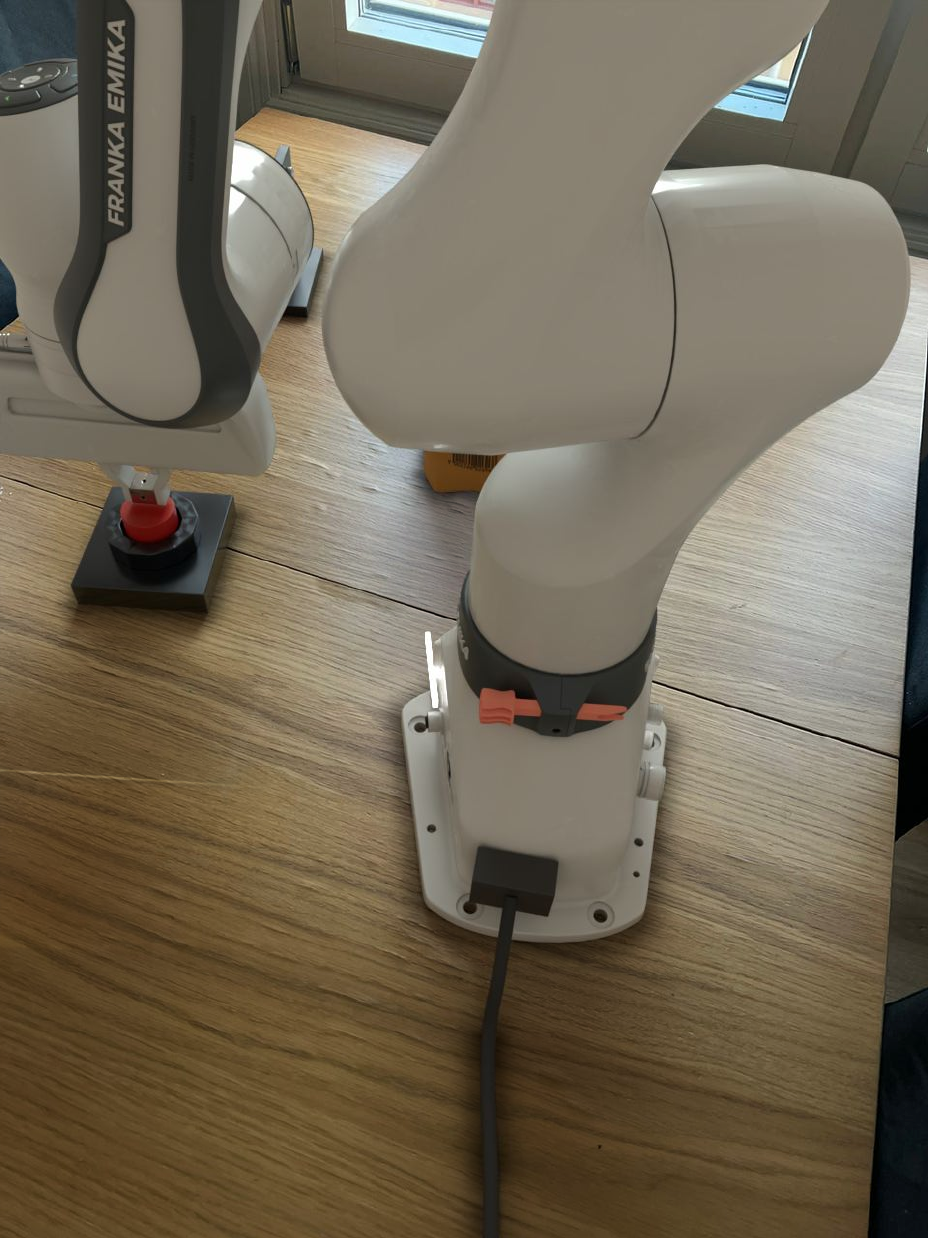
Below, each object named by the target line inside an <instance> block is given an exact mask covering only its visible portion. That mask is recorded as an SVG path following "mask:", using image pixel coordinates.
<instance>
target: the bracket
mask: <svg viewBox="0 0 928 1238" xmlns="http://www.w3.org/2000/svg"><path fill="white" fill-rule="evenodd" d="M274 158H275V159H276V160H277V161H278V162H279V163H280V164H281V165H282V166H283V167H284V168H285V169H286V170H287V171H288V172H289V173H290V174H291V176H292V177H293V178H294V179H295V172H294V171H295V170H294V167H293V166H292V160H291V147H290V145H286V144H285V145H284V144H280V145H279V146H278V149H277V151H276V153H275V156H274ZM324 257H325V256H324V248H323V247H319V246H313V249H312V252H311V255H310V258H309V260H308V262H307V263H306V266H305V268H304V270H303V273H302V275H301V277H300V279H299V281H298V283H297V285H296V287H295V289H294V291H293V293H292V295H291V297H290V300H289V303H288V305H287V307H286V309H285V311H284V313H283V315H282V316H288V317H301V318H308V317H309V313H310V309H311V305H312V302H313V298H314V294H315V291H316V286H317V283H318V280H319V276H320V272H321V268H322V265H323V261H324Z"/></svg>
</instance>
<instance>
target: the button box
mask: <svg viewBox="0 0 928 1238" xmlns="http://www.w3.org/2000/svg"><path fill="white" fill-rule="evenodd" d="M169 497H170V498H171V499H172V500H173V502H174V505H175V509H176V513H177V517H178V527H177V529H176V531H175V532H174V533H173V534H172V535H171V536H170V537H168V538H167V539H164V540H161V541H158V542H154V543H141V542H137V541H135V540H133V539H131V538H130V537H129V536H128V535H127V533H126V531H125V528H124V525H123V521H122V518H121V515H120V510H121V507H122V505H123V503H124V502H125V501H126V500H125V497H124V493H123V490H122V487H119V486H116V485H115V486H114V485H112V486H111V488H110V490H109V492H108V495H107V498H106V499H105V502H104V504H103V507H102V509H101V511H100V514H99V517H98V519H97V522H96V523H95V526H94V529H93V531H92V533H91V535H90V537H89V541H88V543H87V545H86V548H85V550H84V553H83V555H82V557H81V559H80V562H79V564H78V567H77V569H76V571H75V574H74V576H73V578H72V581H71V582H70V583H71V584H70V588H71V590H72V593H73V595H74V598H75V600H76V603H77V604H78V605H87V606H88V605H89V606H101V607H103V606H104V607H117V608H131V609H142V610H143V609H145V610H158V611H159V610H160V611H172V612H173V611H174V612H185V613H187V612H188V613H201V614H202V613H203V614H208V613H209V611H210V608H211V604H212V601H213V597H214V594H215V590H216V587H217V584H218V580H219V577H220V573H221V571H222V566H223V562H224V559H225V556H226V552H227V549H228V545H229V542H230V539H231V535H232V531H233V527H234V524H235V520H236V516H237V509H236V503H235V497H234V495H233V494H228V493H227V494H226V493H211V492H198V491H186V490H185V491H183V490H172V489H170V496H169Z"/></svg>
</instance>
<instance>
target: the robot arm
mask: <svg viewBox="0 0 928 1238" xmlns="http://www.w3.org/2000/svg"><path fill="white" fill-rule="evenodd" d="M830 1H831V0H495V1H494V6H493V10H492V13H491V17H490V20H489V23H488V28H487V30H486V34H485V37H484V39H483V41H482V44H481V47H480V51H479V53H478V56H477V59H476V60H475V63H474V65H473V68H472V70H471V73H470V74H469V76H468V78H467V81H466V83H465V85H464V87H463V90H462V92H461V94H460V96H459V97H458V99H457V100H456V102H455V104H454V106H453V107H452V109H451V112H450V113H449V115H448V117H447V119H446V120H445V121H444V123H443V124H442V127H440V130H439V131H438V132H437V134H436V136H435V137H434V138H433V140H432V142H431V143H430V145H428V147H427V148H426V150H424V152H423V153H422V155H421V156H420V157H419V158H418V160H417V161H416V162H415V163H414V164H413V166H412V167H411V168H410V169H409V170H408V171H407V173H405V175H404V176H403V177H401V179H400V180H399V181H398V182H397V183H396V184H395V185H394V186H393V187H392V188H390V189H389V190H388V191H387V192H386V193H384V194H383V195H382V196H381V197H380V198H379V199H378V200H377V201H376V202H374V203H373V204H372V205H370V207H369V206H368V208H367V209H366V210H364V211H362V213H361V214H360V215H359V216H358V217H357V219H356V220H355V221H354V222H353V223H352V225H351V226H350V228H349V229H348V230H347V232H346V233H345V235H344V237H343V238H342V239H341V242H340V243H339V246H338V248H337V249H336V251H335V254H334V255H333V258H332V261H331V264H330V266H329V270H328V272H327V275H326V279H325V283H324V288H323V294H322V303H321V336H322V342H323V343H322V344H323V349H324V354H325V357H326V362H327V365H328V369H329V371H330V373H331V376H332V378H333V381H334V383H335V386H336V388H337V389H338V392H339V393H340V395H341V397H342V399H343V400H344V402H345V403H346V405H347V407H348V408H349V409H350V411H351V412H352V413H353V415H354V416H355V417H356V419H357V420H358V421H359V422H360V423H361V424H362V425H363V426H364V427H365V429H366V430H368V431H369V432H370V433H371V434H372V435H373V436H374V437H376V438H377V439H378V440H380V441H381V442H382V443H384V444H385V445H386V446H388V447H389V448H393V449H404V450H405V449H407V450H413V451H423V452H424V451H433V452H444V453H459V454H475V455H500V454H506V455H505V456H504V457H503V458H502V459H501V460H500V461H499V462H498V464H497V465H496V466H495V467H494V469H493V470H492V472H491V473H490V475H489V477H488V478H487V480H486V482H485V484H484V486H483V488H482V490H481V492H480V493H479V494H478V497H477V501H476V504H475V508H474V509H475V510H474V519H473V520H474V522H473V533H472V542H471V553H470V554H471V555H470V565H469V569H468V570H467V572H466V575H465V577H464V579H463V583H462V586H461V590H460V593H459V596H458V601H457V608H456V623H455V625H453V627H451V628H450V629H449V630H448V631H446V632H445V633H443V634H442V635H441V636H440V637H439V639H437V640H435V641H434V643H433V645H432V637H431V632H430V631H425V633H424V634H425V636H424V637H425V638H424V640H425V641H424V642H425V647H426V648H425V649H426V657H427V659H426V660H427V666H428V675H429V684H430V685H429V686H430V687H429V690H427V691H426V692H423V693H421V694H419V695H417V696H415V697H413V698H412V699H410V700H408V701H407V702H406V703H405V705H404V706H403V707H402V709H401V711H402V712H401V714H400V715H401V716H400V729H401V736H402V742H403V751H404V761H405V767H406V777H407V783H408V792H409V799H410V807H411V808H410V809H411V814H412V823H413V831H414V838H415V846H416V856H417V862H418V870H419V871H418V872H419V879H420V886H421V893H422V897H423V901H424V904H425V905H426V906H427V907H428V908H429V909H430V910H431V911H432V912H434V913H435V914H436V915H437V916H439V917H441V918H442V919H444V920H445V921H448V922H450V923H451V924H453V925H455V926H457V927H461V928H462V929H465V930H468V931H470V932H474V933H477V934H481V935H484V936H488V937H492V938H496V939H497V941H496V946H495V952H494V959H493V965H492V971H491V978H490V982H489V988H488V992H487V997H486V1003H485V1006H484V1007H485V1008H484V1013H483V1019H482V1030H481V1042H480V1043H481V1045H480V1069H479V1070H480V1075H479V1076H480V1079H479V1080H480V1081H479V1082H480V1083H479V1084H480V1085H479V1086H480V1115H481V1116H480V1117H481V1120H480V1121H481V1140H482V1141H481V1142H482V1169H483V1170H482V1171H483V1172H482V1178H483V1179H482V1182H483V1183H482V1184H483V1186H482V1188H483V1190H482V1192H483V1193H482V1196H483V1197H482V1200H483V1201H482V1238H500V1189H499V1188H500V1183H499V1182H500V1179H499V1149H498V1148H499V1147H498V1129H497V1127H498V1125H497V1105H496V1071H495V1070H496V1042H497V1028H498V1021H499V1014H500V1007H501V1004H502V999H503V995H504V990H505V985H506V978H507V972H508V966H509V959H510V955H511V954H510V953H511V946H512V941H519V942H530V943H550V944H551V943H553V944H561V943H580V942H587V941H595V940H599V939H603V938H606V937H611V936H613V935H616V934H618V933H621V932H623V931H625V930H627V929H629V928H630V927H632V926H634V925H636V924H637V923H638V922H640V921H641V920H642V918H643V916H644V914H645V908H646V905H647V900H648V892H649V891H648V890H649V883H650V875H651V866H652V860H653V851H654V850H653V849H654V843H655V835H656V834H655V833H656V826H657V825H656V824H657V817H658V809H659V802H660V801H661V799H662V796H663V793H664V788H665V783H666V778H667V777H666V776H667V768H666V766H664V759H665V753H666V752H665V751H666V743H667V734H668V729H667V726H666V724H665V722H664V721H663V717H664V713H665V712H664V710H665V708H664V705H662V704H659V703H654V702H651V692H652V685H653V680H654V677H655V674H656V671H657V669H658V668H659V664H660V661H661V658H660V656H658V654H656V652H655V651H654V650H655V644H656V641H657V640H656V639H657V638H656V637H657V624H658V605H659V602H660V599H661V596H662V594H663V591H664V588H665V586H666V583H667V580H668V578H669V575H670V574H671V571H672V568H673V567H674V564H675V561H676V559H677V557H678V555H679V553H680V550H681V549H682V546H683V545H684V544H685V542H686V541H687V539H688V537H689V536H690V534H691V533H692V532H693V530H694V529H695V528H696V527H697V525H698V524H699V522H700V521H701V520H702V519H703V518H704V517H705V515H706V514H707V513H708V512H709V510H710V509H711V508H712V507H713V506H714V505H715V503H717V501H718V500H719V499H720V498H721V497H722V496H723V495H724V494H725V493H726V492H727V490H728V489H729V488H730V487H731V486H732V485H733V484H735V482H737V481H738V479H739V478H740V477H742V475H743V474H744V473H745V472H746V471H748V469H750V468H751V466H752V465H753V464H755V463H756V462H757V461H758V460H759V459H760V458H761V457H762V456H763V455H765V454H766V452H768V451H769V450H770V449H771V448H772V447H773V446H774V445H775V444H776V443H778V442H779V441H780V440H782V439H783V438H785V437H786V436H787V435H789V434H790V433H791V432H792V431H793V430H795V429H796V428H797V427H799V426H800V425H802V424H803V423H805V422H806V421H807V420H809V419H810V418H812V417H813V416H815V415H816V414H818V413H820V412H821V411H822V410H825V409H826V408H829V407H830V406H832V405H833V404H835V403H837V402H838V401H840V400H842V399H843V398H845V397H848V396H849V395H851V394H853V393H855V392H856V391H859V390H860V389H861V388H863V387H864V386H866V384H868V383H869V382H870V381H871V380H873V378H875V376H876V375H877V374H878V373H879V371H880V370H881V369H882V367H883V366H884V365H885V364H886V361H887V359H889V356H890V355H891V353H892V351H893V349H894V347H895V345H896V343H897V341H898V339H899V336H900V334H901V331H902V328H903V325H904V323H905V320H906V315H907V312H908V307H909V301H910V295H911V284H912V283H911V281H912V278H911V277H912V276H911V274H912V273H911V272H912V271H911V261H910V255H909V250H908V246H907V241H906V238H905V236H904V232H903V229H902V227H901V225H900V223H899V222H900V221H899V220H898V218H897V216H896V214H895V213H894V211H893V209H892V207H891V205H890V204H889V203H888V202H887V200H886V198H884V196H883V195H882V194H881V193H880V192H879V191H877V190H876V189H874V187H872V186H870V185H869V184H867V183H864V182H862V181H859V180H854V179H850V178H846V177H841V176H835V175H831V174H826V173H821V172H817V171H809V170H803V169H797V168H790V167H784V166H779V165H773V164H750V165H747V164H746V165H731V166H716V167H703V168H702V167H701V168H685V169H672V170H670V169H669V170H665V168H666V167H667V165H668V163H669V162H670V160H671V159H672V157H673V156H674V154H675V153H676V151H677V150H678V149H679V147H680V146H681V145H682V143H683V142H684V141H685V139H686V138H687V137H688V135H689V134H690V133H691V132H692V130H694V128H695V127H696V126H697V125H698V124H699V123H700V122H701V120H702V119H704V117H705V116H707V114H708V113H709V112H710V111H711V110H712V109H713V108H715V107H716V106H717V105H718V104H719V103H721V102H722V101H723V100H724V99H725V98H727V97H728V96H730V95H731V94H732V93H733V92H735V91H736V90H738V89H740V88H741V87H743V86H744V85H746V84H747V83H749V82H751V81H752V80H753V79H755V78H757V77H758V76H760V75H762V74H763V73H764V72H766V71H767V70H769V69H771V68H772V67H774V66H775V65H777V64H778V63H779V62H780V61H782V60H783V59H784V58H786V57H787V56H788V55H789V54H790V53H792V51H794V50H795V49H796V48H797V47H798V46H799V45H800V44H801V42H803V41H804V40H805V38H806V37H807V36H808V35H809V34H810V32H811V31H812V29H813V28H814V26H815V25H816V24H817V23H818V21H819V19H820V18H821V16H822V15H823V13H824V12H825V10H826V8H827V7H828V4H829V3H830ZM263 2H264V0H75V10H76V11H75V14H76V15H75V17H76V18H75V20H76V22H75V25H76V28H75V29H76V58H50V59H43V60H37V61H33V62H29V63H25V64H23V65H22V66H19V67H16V68H13V69H11V70H6V71H4V72H3V73H1V74H0V260H1V261H2V263H3V264H4V266H5V267H6V268H7V270H8V272H9V273H10V274H11V277H12V278H13V281H14V284H15V291H16V292H15V293H16V294H15V295H16V297H15V298H16V299H15V300H16V308H17V313H18V316H19V319H20V322H21V325H22V327H23V331H24V333H17V332H12V333H11V332H9V333H7V332H5V333H3V332H2V333H0V455H5V456H16V457H29V458H39V459H51V460H61V461H74V462H85V463H96V464H98V466H99V471H100V472H102V473H103V474H104V475H105V476H106V477H108V478H109V480H111V481H112V482H113V483H114V484H115V485H117V487H122V490H123V493H124V497H125V500H126V502H130V503H143V504H154V505H164V506H165V505H166V504H167V501H168V498H169V496H170V490H171V487H170V483H169V479H170V478H171V475H172V473H173V470H177V471H186V472H187V471H188V472H199V473H208V474H209V473H210V474H221V475H232V476H244V477H251V478H252V477H253V478H254V477H255V478H256V477H260V476H262V475H263V474H264V473H265V472H266V471H267V470H268V469H269V468H270V466H271V464H272V461H273V459H274V455H275V452H276V447H277V440H278V438H277V427H276V421H275V417H274V411H273V407H272V404H271V400H270V396H269V393H268V391H267V390H268V389H267V386H266V384H265V380H264V379H263V377H262V374H261V373H260V372H259V369H260V365H261V362H262V358H263V355H264V353H265V351H266V349H267V347H268V345H269V343H270V341H271V339H272V337H273V335H274V333H275V332H276V329H277V327H278V326H279V324H280V321H281V319H282V317H283V316H284V315H283V313H284V311H285V309H286V307H287V305H288V303H289V300H290V297H291V295H292V293H293V291H294V289H295V287H296V285H297V283H298V281H299V279H300V277H301V275H302V273H303V270H304V268H305V266H306V263H307V262H308V260H309V258H310V255H311V252H312V249H313V247H314V242H315V225H314V219H313V215H312V212H311V209H310V205H309V203H308V201H307V198H306V196H305V193H304V192H303V190H302V189H301V187H300V185H299V183H298V182H297V180H296V179H295V177H294V178H293V177H292V176H291V174H290V173H289V172H288V171H287V170H286V169H285V168H284V167H283V166H282V165H281V164H280V163H279V162H278V161H277V160H276V159H275V157H274V156H272V155H271V154H270V153H268V152H267V151H265V150H263V149H262V148H260V147H258V146H256V145H254V144H253V143H251V142H248V141H245V140H242V139H238V138H236V126H237V113H238V101H239V93H240V92H239V91H240V82H241V78H242V71H243V66H244V61H245V57H246V54H247V50H248V45H249V42H250V38H251V36H252V33H253V29H254V26H255V23H256V21H257V17H258V15H259V12H260V10H261V7H262V5H263ZM134 467H139V468H140V467H142V468H149V471H150V472H149V473H148V472H140V471H137V470H136V469H135V468H134ZM432 647H433V648H432ZM417 729H423V730H424V731H422V732H418V731H417ZM467 906H471V907H473V908H474V909H475V912H474V913H467V912H465V910H464V908H465V907H467ZM596 914H598V915H601V916H602V917H603V918H604V921H603V922H599V921H597V920H596V919H595V917H594V915H596Z"/></svg>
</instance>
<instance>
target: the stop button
mask: <svg viewBox="0 0 928 1238" xmlns="http://www.w3.org/2000/svg"><path fill="white" fill-rule="evenodd" d="M120 515H121V518H122V521H123V525H124V528H125V531H126V533H127V535H128V536H129V537H130V538H131V539H133V540H135V541H137V542H141V543H154V542H158V541H161V540H164V539H167V538H168V537H170V536H171V535H172V534H173V533H174V532H175V531H176V529H177V527H178V517H177V513H176V509H175V505H174V502H173V500H172V499H171V498H170V497H169V498H168V501H167V504H166V505H165V506H164V505H154V504H143V503H130V502H126V501H125V502H124V503H123V505H122V507H121V510H120Z"/></svg>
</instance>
